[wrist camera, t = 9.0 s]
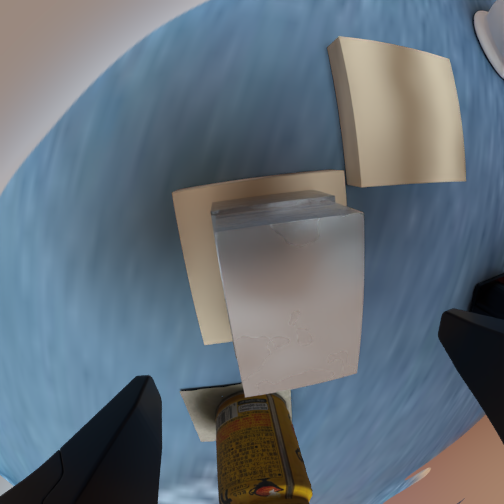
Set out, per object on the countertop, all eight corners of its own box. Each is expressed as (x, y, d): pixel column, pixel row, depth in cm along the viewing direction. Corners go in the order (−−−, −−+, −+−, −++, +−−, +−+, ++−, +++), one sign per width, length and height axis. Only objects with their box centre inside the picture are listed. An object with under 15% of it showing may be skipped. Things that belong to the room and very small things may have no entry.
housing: (313, 189, 15) (368, 205, 9) (319, 312, 17) (360, 375, 11) (212, 202, 14) (207, 226, 8) (233, 327, 16) (241, 401, 11)
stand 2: (432, 64, 15) (449, 59, 13) (448, 178, 17) (465, 181, 15) (327, 47, 14) (338, 36, 12) (346, 184, 17) (361, 187, 15)
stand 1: (330, 169, 16) (344, 170, 14) (337, 304, 19) (348, 318, 17) (177, 189, 16) (171, 192, 14) (205, 328, 18) (204, 345, 17)
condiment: (292, 428, 23) (324, 537, 11) (201, 440, 22) (203, 552, 11) (289, 373, 20) (336, 511, 9) (179, 388, 20) (167, 529, 8)
